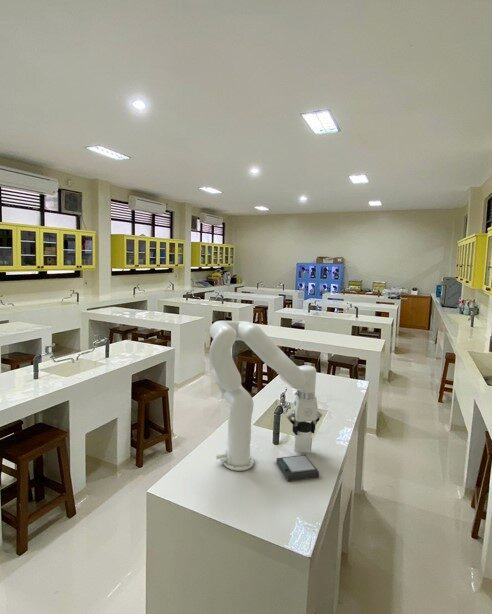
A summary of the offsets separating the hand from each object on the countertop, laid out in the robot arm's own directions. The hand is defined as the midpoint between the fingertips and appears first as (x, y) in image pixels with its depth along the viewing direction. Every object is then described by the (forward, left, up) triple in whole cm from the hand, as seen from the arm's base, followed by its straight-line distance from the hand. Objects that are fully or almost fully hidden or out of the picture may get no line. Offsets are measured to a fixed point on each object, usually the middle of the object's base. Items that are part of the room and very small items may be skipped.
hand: (303, 432), depth 165 cm
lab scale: (-8, -12, -10) cm, 17 cm away
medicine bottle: (0, 0, -8) cm, 8 cm away
